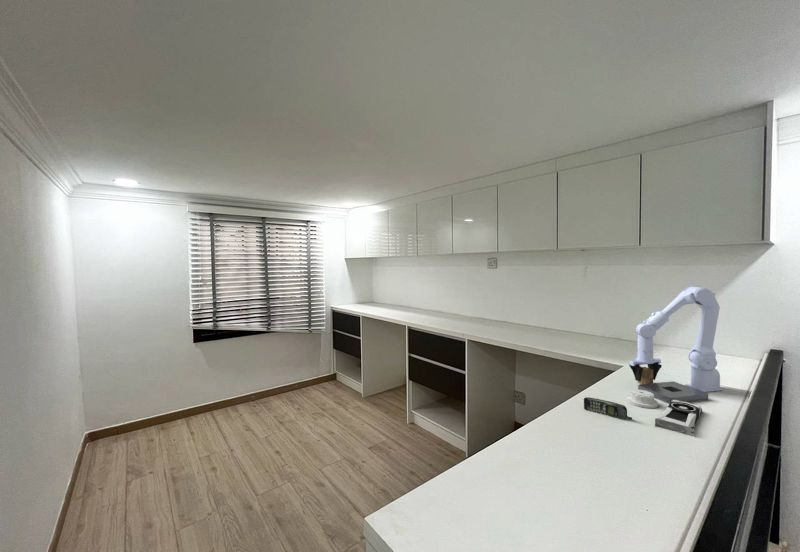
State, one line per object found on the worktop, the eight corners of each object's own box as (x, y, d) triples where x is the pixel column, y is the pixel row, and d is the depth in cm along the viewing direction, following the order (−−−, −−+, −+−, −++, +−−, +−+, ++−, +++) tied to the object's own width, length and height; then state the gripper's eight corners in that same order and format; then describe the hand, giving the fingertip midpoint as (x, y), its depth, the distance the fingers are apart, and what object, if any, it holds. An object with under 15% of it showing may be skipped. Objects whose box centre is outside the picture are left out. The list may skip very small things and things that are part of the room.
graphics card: (654, 418, 110) (671, 397, 126) (654, 428, 110) (671, 405, 126) (694, 429, 102) (706, 405, 118) (694, 439, 102) (706, 414, 118)
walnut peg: (645, 381, 150) (645, 366, 149) (653, 384, 146) (653, 369, 145) (637, 382, 149) (637, 367, 149) (645, 385, 145) (645, 370, 145)
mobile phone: (582, 397, 123) (630, 407, 113) (584, 395, 126) (632, 404, 116) (583, 410, 124) (631, 421, 113) (585, 408, 126) (632, 418, 116)
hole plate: (673, 386, 143) (673, 381, 143) (708, 399, 129) (708, 393, 129) (638, 390, 140) (638, 385, 140) (670, 404, 126) (670, 398, 126)
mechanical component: (634, 408, 124) (664, 409, 122) (634, 396, 124) (664, 398, 122) (622, 397, 134) (649, 399, 132) (622, 387, 134) (649, 388, 132)
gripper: (650, 347, 152) (650, 375, 152) (623, 349, 149) (623, 378, 150) (665, 350, 145) (665, 380, 145) (637, 353, 143) (637, 383, 143)
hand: (645, 379), depth 147 cm, fingers open, 7 cm apart
